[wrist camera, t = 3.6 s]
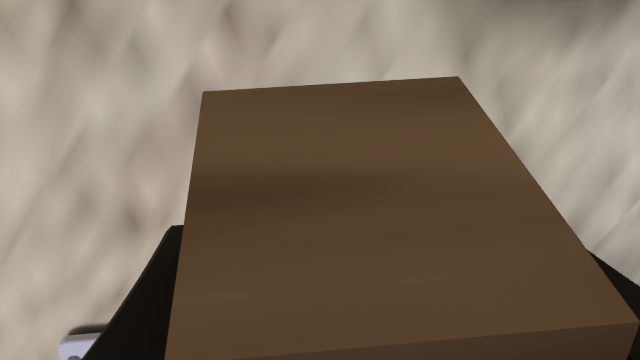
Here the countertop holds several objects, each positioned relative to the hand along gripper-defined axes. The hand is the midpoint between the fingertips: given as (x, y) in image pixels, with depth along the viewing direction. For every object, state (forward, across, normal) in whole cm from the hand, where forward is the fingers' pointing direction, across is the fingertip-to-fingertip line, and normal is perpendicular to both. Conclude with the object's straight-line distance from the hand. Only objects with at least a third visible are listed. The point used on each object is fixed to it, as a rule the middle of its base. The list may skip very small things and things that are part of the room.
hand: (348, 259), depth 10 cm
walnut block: (+2, 0, 0) cm, 2 cm away
